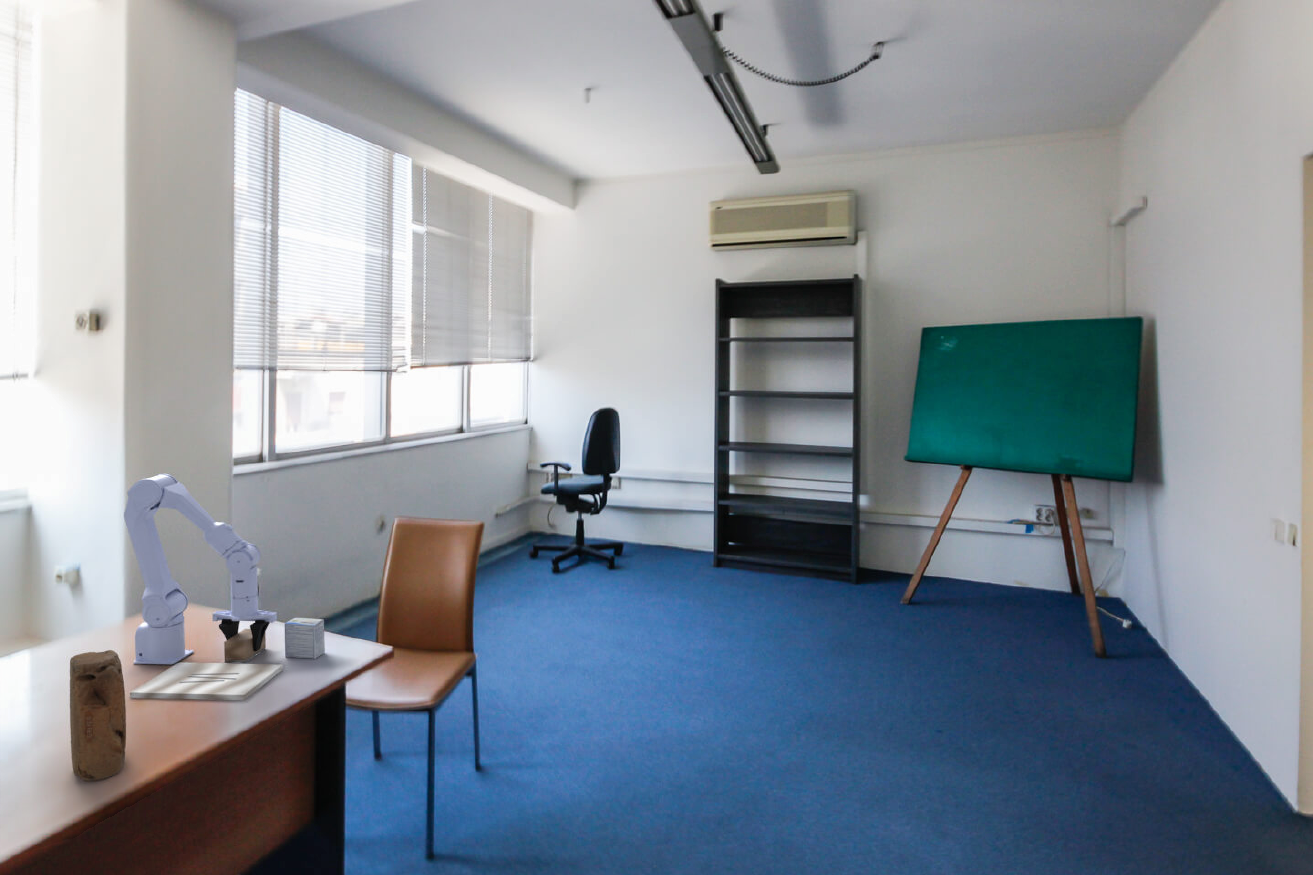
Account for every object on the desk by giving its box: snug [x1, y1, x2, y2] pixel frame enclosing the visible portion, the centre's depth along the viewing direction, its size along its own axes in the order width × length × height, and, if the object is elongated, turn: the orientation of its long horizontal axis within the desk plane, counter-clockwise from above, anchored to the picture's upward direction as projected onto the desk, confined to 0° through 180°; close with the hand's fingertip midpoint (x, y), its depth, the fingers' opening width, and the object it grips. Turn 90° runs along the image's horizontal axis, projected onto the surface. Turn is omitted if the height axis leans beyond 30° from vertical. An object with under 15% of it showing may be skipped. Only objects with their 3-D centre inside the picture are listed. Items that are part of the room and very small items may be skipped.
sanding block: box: [223, 628, 267, 663], centre depth 176 cm, size 5×9×5 cm, turn 1°
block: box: [69, 649, 127, 782], centre depth 125 cm, size 11×8×20 cm
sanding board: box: [129, 661, 284, 701], centre depth 160 cm, size 24×16×1 cm, turn 91°
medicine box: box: [284, 617, 326, 660], centre depth 177 cm, size 8×4×9 cm, turn 84°
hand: (245, 649), depth 176 cm, fingers closed on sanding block, 5 cm apart
